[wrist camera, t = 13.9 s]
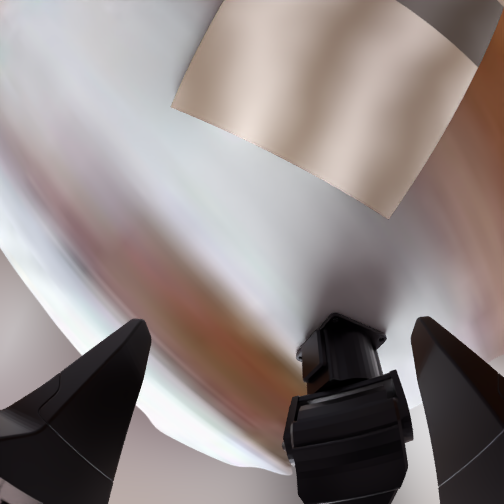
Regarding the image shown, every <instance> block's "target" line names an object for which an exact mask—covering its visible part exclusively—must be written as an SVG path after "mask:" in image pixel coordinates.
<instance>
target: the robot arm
mask: <svg viewBox="0 0 504 504" xmlns="http://www.w3.org/2000/svg"><path fill="white" fill-rule="evenodd" d="M334 318H337V319H334ZM380 338H381V339H380ZM386 339H387V338H386V335H385V334H384V333H382V332H380V331H378V330H375V329H373V328H371V327H368V326H366V325H364V324H361V323H359V322H357V321H355V320H352V319H350V318H348V317H345V316H343V315H341V314H339V313H333V314H331V315H330V316H329V317H328V319H327V320H326V321H325V322H324V323H323V324H322V326H321V327H320V328H319V329H318V330H316V331H315V332H314V333H313V334H312V335H311V337H310V338H309V339H308V340H307V341H306V342H305V343H304V344H303V345H302V348H301V349H300V350H299V351H298V353H297V354H296V359H297V360H298V361H301V362H302V370H303V381H304V382H306V383H307V395H304V396H300V397H299V396H295V397H292V401H291V405H290V407H289V412H288V417H287V422H286V427H285V431H284V436H283V440H284V441H283V443H282V447H283V449H284V450H285V451H286V452H287V456H288V459H289V461H290V463H291V464H292V466H294V467H296V474H297V485H298V486H297V487H298V495H299V497H300V498H301V500H302V501H303V503H304V504H391V502H392V501H393V499H394V496H395V495H396V493H397V491H398V489H400V487H401V485H402V483H403V480H404V478H405V475H406V472H407V469H408V461H407V455H406V448H405V443H406V442H409V441H412V440H413V428H412V422H411V417H410V412H409V408H408V404H407V401H406V398H405V394H404V391H403V388H402V385H401V382H400V379H399V376H398V374H397V371H396V370H393V371H390V373H387V374H384V375H383V372H382V368H381V365H380V361H379V357H378V353H377V349H378V348H379V347H380V346H381V345H382V344H383V343H384V342H385V341H386ZM411 345H412V350H413V356H414V362H415V369H416V375H417V381H418V385H419V389H420V393H421V397H422V401H423V406H424V409H425V414H426V419H427V424H428V428H429V433H430V438H431V444H432V449H433V455H434V460H435V467H436V473H437V480H438V486H439V488H438V489H439V497H440V504H504V377H503V376H501V375H500V374H498V372H497V371H496V370H494V369H493V368H492V367H491V366H490V365H489V364H487V363H486V362H485V361H484V360H483V359H482V358H480V357H479V356H478V355H477V354H476V353H474V352H473V351H472V350H471V349H469V348H468V347H467V346H466V345H465V344H463V343H462V342H461V341H460V340H458V339H457V338H456V337H455V336H454V335H452V334H451V333H450V332H449V331H447V330H446V329H445V328H444V327H442V326H441V325H440V324H438V323H437V322H436V321H435V320H433V319H432V318H431V317H429V316H425V317H419V318H418V319H417V320H416V323H415V326H414V329H413V332H412V335H411ZM150 346H151V335H150V333H149V330H148V327H147V325H146V322H145V321H144V320H143V319H132V320H130V321H129V322H127V323H126V324H125V325H123V326H122V327H121V328H119V329H118V330H116V331H115V332H114V333H112V334H111V335H110V336H108V337H107V338H106V339H104V340H103V341H101V342H100V343H99V344H97V345H96V346H95V347H93V348H92V349H91V350H89V351H88V352H87V353H85V354H84V355H83V356H81V357H80V358H79V359H78V360H76V361H75V362H73V363H72V364H71V365H69V366H68V367H67V368H65V369H64V370H63V371H61V373H59V374H57V375H56V376H55V377H53V378H52V379H50V380H49V381H48V382H46V383H45V384H43V385H42V386H41V387H39V388H38V389H36V390H34V391H33V392H32V393H30V394H28V395H27V396H25V397H23V398H22V399H20V400H19V401H17V402H15V403H14V404H12V405H11V406H9V407H7V408H6V409H3V410H0V504H108V502H109V498H110V493H111V489H112V486H113V481H114V477H115V473H116V470H117V466H118V462H119V459H120V455H121V451H122V448H123V445H124V441H125V438H126V434H127V431H128V427H129V424H130V421H131V417H132V414H133V411H134V408H135V405H136V401H137V398H138V395H139V392H140V389H141V386H142V383H143V379H144V375H145V370H146V365H147V360H148V356H149V351H150Z"/></svg>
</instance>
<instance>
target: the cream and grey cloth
mask: <svg viewBox="0 0 504 504" xmlns="http://www.w3.org/2000/svg"><path fill="white" fill-rule="evenodd" d="M503 8H504V0H224V1H223V3H222V5H221V6H220V8H219V10H218V12H217V13H216V15H215V17H214V19H213V20H212V22H211V24H210V26H209V28H208V30H207V31H206V33H205V35H204V37H203V39H202V41H201V43H200V45H199V47H198V49H197V51H196V53H195V55H194V57H193V59H192V61H191V63H190V65H189V67H188V69H187V71H186V73H185V75H184V78H183V80H182V82H181V84H180V86H179V89H178V91H177V93H176V95H175V98H174V100H173V102H172V105H171V108H174V109H176V110H179V111H181V112H184V113H186V114H189V115H191V116H193V117H196V118H198V119H200V120H203V121H205V122H207V123H209V124H212V125H214V126H216V127H218V128H221V129H223V130H225V131H227V132H229V133H232V134H234V135H236V136H238V137H240V138H242V139H244V140H246V141H249V142H251V143H253V144H255V145H257V146H259V147H261V148H263V149H265V150H267V151H269V152H271V153H273V154H275V155H277V156H279V157H281V158H283V159H285V160H286V161H288V162H290V163H292V164H294V165H296V166H298V167H300V168H302V169H303V170H305V171H307V172H309V173H311V174H313V175H314V176H316V177H318V178H320V179H322V180H323V181H325V182H327V183H329V184H331V185H332V186H334V187H336V188H338V189H339V190H341V191H343V192H344V193H346V194H348V195H349V196H351V197H353V198H355V199H356V200H358V201H360V202H361V203H363V204H364V205H366V206H368V207H369V208H371V209H373V210H374V211H376V212H377V213H379V214H381V215H382V216H384V217H385V218H387V219H388V220H389V218H390V217H391V215H392V214H393V212H394V211H395V209H396V208H397V206H398V205H399V204H400V202H401V201H402V199H403V198H404V196H405V194H406V193H407V191H408V190H409V188H410V187H411V185H412V184H413V182H414V181H415V179H416V177H417V176H418V174H419V173H420V171H421V170H422V168H423V166H424V165H425V163H426V161H427V160H428V158H429V157H430V155H431V153H432V152H433V150H434V148H435V147H436V145H437V143H438V141H439V140H440V138H441V136H442V135H443V133H444V131H445V129H446V128H447V126H448V124H449V122H450V120H451V119H452V117H453V115H454V113H455V111H456V109H457V108H458V106H459V104H460V102H461V100H462V98H463V96H464V94H465V92H466V90H467V89H468V87H469V85H470V83H471V81H472V79H473V77H474V74H475V72H476V70H477V68H478V67H479V65H480V63H481V61H482V58H483V56H484V54H485V52H486V50H487V47H488V45H489V43H490V41H491V38H492V36H493V33H494V31H495V29H496V26H497V24H498V21H499V19H500V16H501V14H502V11H503Z"/></svg>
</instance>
